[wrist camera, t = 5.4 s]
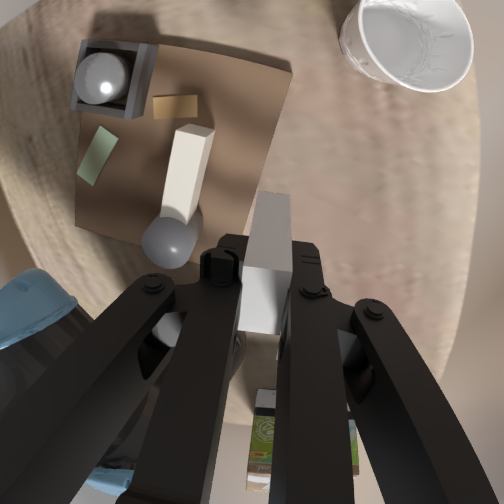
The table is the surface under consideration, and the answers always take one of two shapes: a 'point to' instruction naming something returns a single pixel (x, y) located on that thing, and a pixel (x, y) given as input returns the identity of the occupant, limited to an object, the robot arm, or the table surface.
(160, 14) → the table surface
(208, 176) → the board
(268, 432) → the tea box
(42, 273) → the robot arm
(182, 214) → the peg lever
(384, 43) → the white cup
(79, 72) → the button
